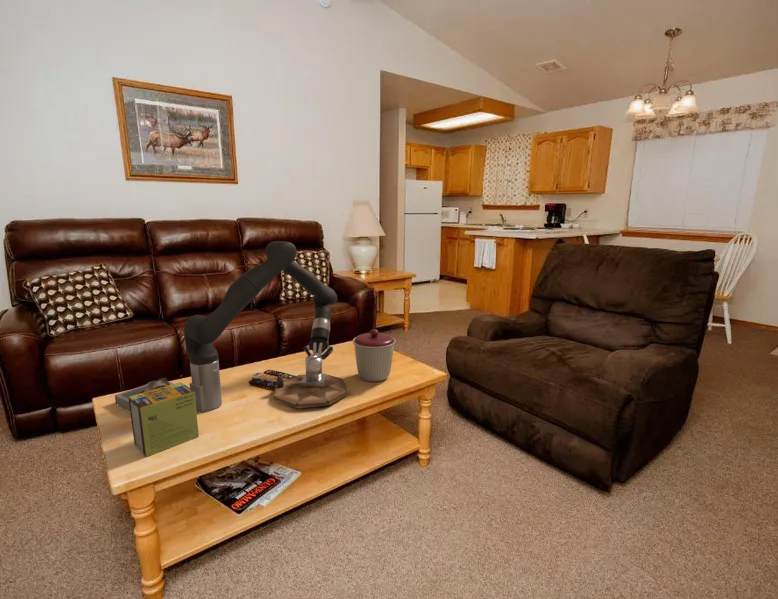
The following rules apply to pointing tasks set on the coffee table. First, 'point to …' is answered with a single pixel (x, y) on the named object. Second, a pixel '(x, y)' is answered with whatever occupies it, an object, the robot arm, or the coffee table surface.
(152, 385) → the caster wheel
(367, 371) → the canister
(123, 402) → the chock frame
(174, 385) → the protein box
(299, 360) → the coffee table surface
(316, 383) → the silver post on plate
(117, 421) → the coffee table surface
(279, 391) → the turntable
